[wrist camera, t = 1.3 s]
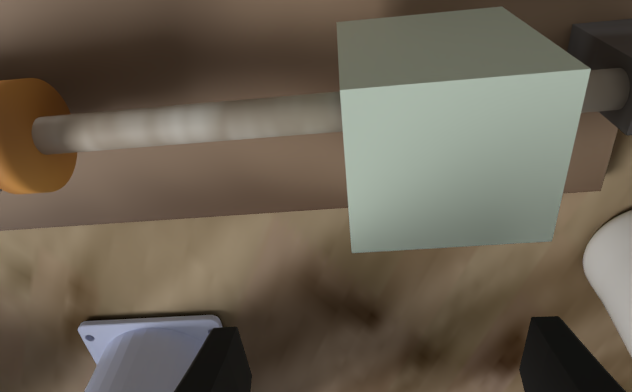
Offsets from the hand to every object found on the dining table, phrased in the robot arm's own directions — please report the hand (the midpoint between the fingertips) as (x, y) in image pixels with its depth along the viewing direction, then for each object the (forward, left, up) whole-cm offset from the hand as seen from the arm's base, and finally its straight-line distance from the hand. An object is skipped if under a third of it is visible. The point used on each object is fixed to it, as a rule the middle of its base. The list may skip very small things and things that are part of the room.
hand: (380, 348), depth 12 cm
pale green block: (+4, -2, -7) cm, 9 cm away
